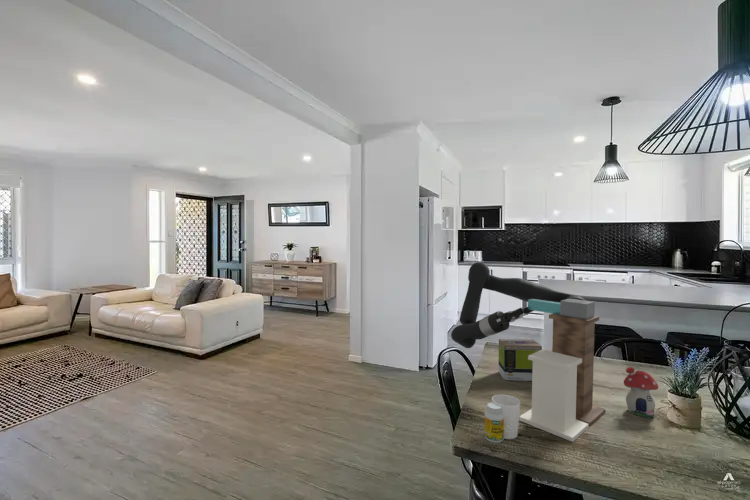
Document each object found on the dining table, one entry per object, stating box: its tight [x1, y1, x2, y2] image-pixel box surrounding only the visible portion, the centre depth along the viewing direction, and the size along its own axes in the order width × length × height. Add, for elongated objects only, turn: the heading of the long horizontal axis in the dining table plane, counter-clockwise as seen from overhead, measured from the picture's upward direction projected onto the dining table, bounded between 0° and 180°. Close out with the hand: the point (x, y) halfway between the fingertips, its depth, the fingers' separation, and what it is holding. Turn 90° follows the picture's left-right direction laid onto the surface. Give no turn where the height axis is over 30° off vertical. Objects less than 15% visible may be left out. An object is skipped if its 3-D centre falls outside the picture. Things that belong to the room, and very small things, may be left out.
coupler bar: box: [527, 299, 596, 320], centre depth 125 cm, size 20×7×5 cm, turn 41°
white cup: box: [491, 393, 521, 440], centre depth 108 cm, size 8×8×10 cm
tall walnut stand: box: [548, 313, 606, 427], centre depth 122 cm, size 16×14×32 cm
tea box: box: [498, 338, 543, 382], centre depth 152 cm, size 15×10×15 cm, turn 84°
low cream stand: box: [519, 349, 589, 443], centre depth 113 cm, size 16×12×21 cm
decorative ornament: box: [623, 366, 659, 419], centre depth 121 cm, size 9×6×15 cm
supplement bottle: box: [483, 402, 505, 444], centre depth 105 cm, size 5×5×10 cm
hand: (528, 308), depth 133 cm, fingers open, 8 cm apart
